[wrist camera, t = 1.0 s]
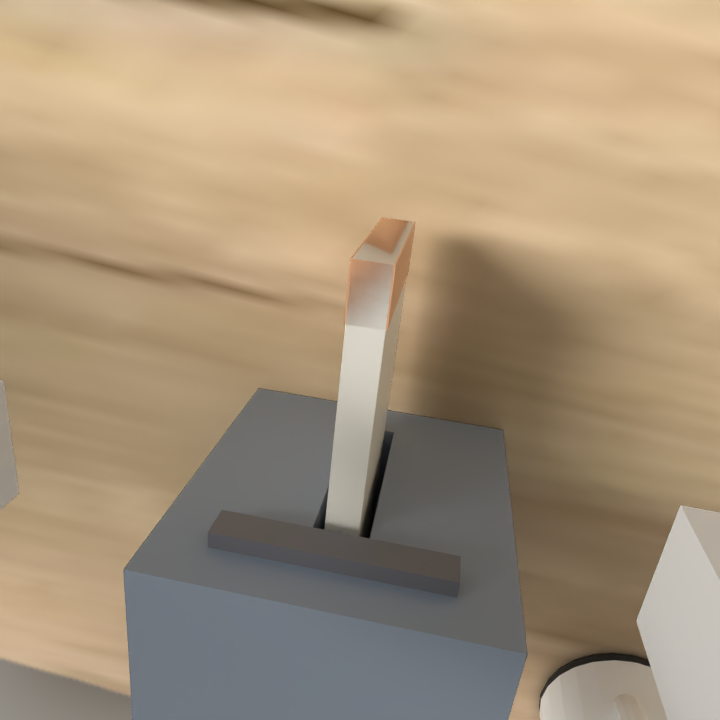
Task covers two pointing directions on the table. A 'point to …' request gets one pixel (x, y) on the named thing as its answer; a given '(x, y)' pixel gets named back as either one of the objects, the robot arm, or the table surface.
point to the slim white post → (367, 373)
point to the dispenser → (330, 579)
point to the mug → (602, 690)
